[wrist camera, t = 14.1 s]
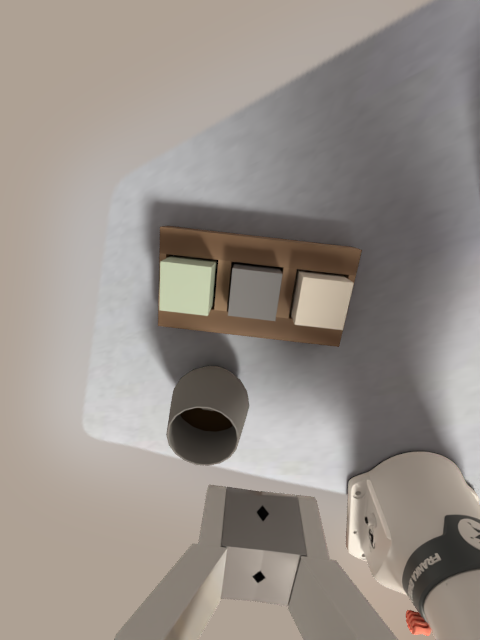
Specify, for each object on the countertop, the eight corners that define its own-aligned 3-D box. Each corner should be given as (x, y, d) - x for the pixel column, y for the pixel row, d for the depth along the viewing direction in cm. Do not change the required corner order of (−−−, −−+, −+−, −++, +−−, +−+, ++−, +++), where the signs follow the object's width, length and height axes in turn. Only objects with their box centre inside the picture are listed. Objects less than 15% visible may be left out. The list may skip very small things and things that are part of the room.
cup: (173, 357, 40) (148, 401, 30) (244, 350, 39) (241, 393, 30) (186, 418, 43) (168, 475, 33) (252, 412, 42) (252, 470, 33)
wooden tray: (332, 336, 38) (339, 346, 35) (165, 317, 38) (158, 325, 35) (352, 247, 34) (361, 250, 31) (167, 225, 34) (160, 226, 31)
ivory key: (332, 316, 36) (342, 330, 31) (289, 311, 36) (294, 324, 31) (341, 274, 34) (353, 282, 30) (297, 269, 34) (303, 277, 30)
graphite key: (272, 308, 36) (275, 321, 32) (230, 304, 36) (227, 315, 32) (278, 266, 34) (282, 274, 30) (235, 261, 34) (232, 268, 30)
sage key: (213, 303, 35) (207, 315, 31) (170, 298, 35) (159, 310, 31) (216, 260, 34) (211, 267, 29) (171, 255, 34) (160, 261, 29)
